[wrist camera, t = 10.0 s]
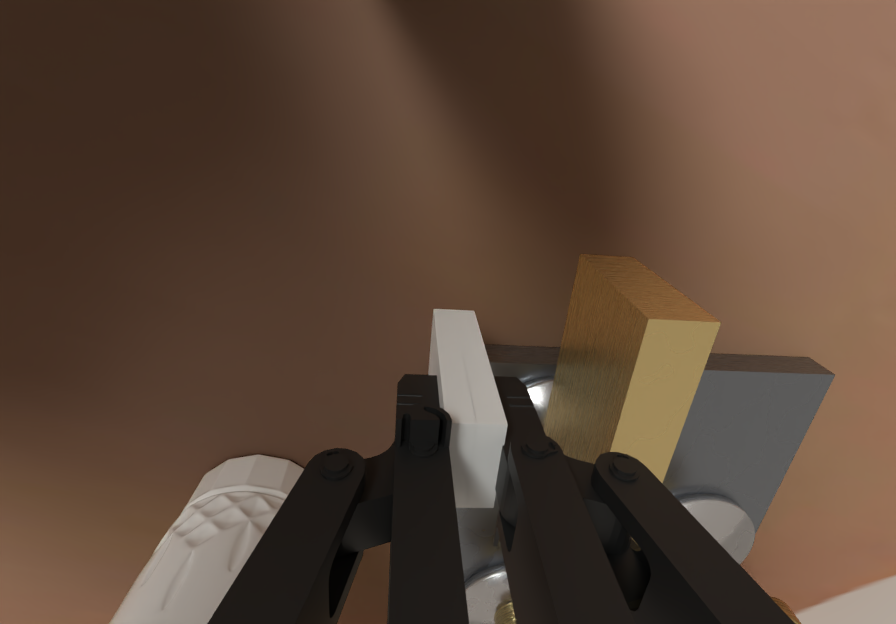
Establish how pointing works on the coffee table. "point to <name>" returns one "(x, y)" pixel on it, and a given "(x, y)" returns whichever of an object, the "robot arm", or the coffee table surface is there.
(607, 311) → the foot screw
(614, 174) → the coffee table surface
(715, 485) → the plate
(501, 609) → the foot screw
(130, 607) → the white cup
